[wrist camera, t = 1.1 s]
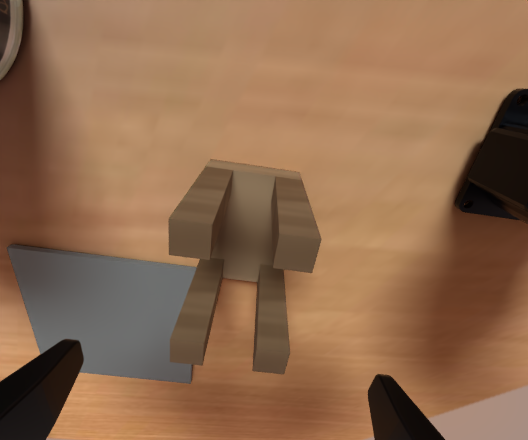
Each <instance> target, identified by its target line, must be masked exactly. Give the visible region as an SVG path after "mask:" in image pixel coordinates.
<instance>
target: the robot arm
mask: <svg viewBox="0 0 528 440" xmlns="http://www.w3.org/2000/svg"><path fill="white" fill-rule="evenodd" d="M520 96H521V97H522V98H521V101H520V102H519V103H518V104H517V99H518V98H519V97H520ZM468 200H469V201H468ZM466 201H468V203H467V204H466V205H464V203H465V202H466ZM455 206H456V207H457V208H458V209H459V210H461V211H463V212H467V213H474V214H481V215H488V216H495V217H502V218H509V219H516V220H522V221H524V222H525V223H527V224H528V89H516V90H513V91H512V92H511V93H510V94H509V95H508V96H507V98H506V100H505V102H504V104H503V106H502V108H501V110H500V112H499V114H498V116H497V118H496V120H495V122H494V124H493V126H492V128H491V130H490V132H489V134H488V136H487V138H486V140H485V142H484V144H483V146H482V148H481V150H480V152H479V154H478V156H477V158H476V160H475V162H474V164H473V166H472V168H471V170H470V172H469V174H468V177H467V179H466V181H465V183H464V185H463V187H462V189H461V191H460V193H459V195H458V197H457V199H456V202H455ZM83 362H84V356H83V352H82V347H81V343H80V341H79V340H74V339H64V340H61V341H60V342H58V343H57V344H55V345H54V346H52V347H51V348H49V349H48V350H46V351H45V352H43V353H42V354H41V355H39V356H38V357H36V358H35V359H33V360H32V361H30V362H29V363H27V364H26V365H24V366H23V367H21V368H20V369H18V370H17V371H15V372H14V373H12V374H11V375H9V376H8V377H6V378H5V379H3V380H2V381H1V382H0V440H46V438H47V437H48V435H49V433H50V431H51V430H52V428H53V426H54V424H55V422H56V420H57V418H58V416H59V414H60V412H61V410H62V408H63V406H64V404H65V402H66V400H67V397H68V395H69V393H70V391H71V389H72V387H73V385H74V383H75V380H76V378H77V376H78V374H79V372H80V370H81V368H82V365H83ZM368 401H369V407H370V413H371V419H372V426H373V432H374V438H375V440H445V439H444V438H443V436H442V435H441V434H440V433H439V432H438V431H437V429H436V428H435V427H434V426H433V425H432V423H430V421H429V420H428V419H427V418H426V416H425V415H424V414H423V413H422V412H421V411H420V409H419V408H418V407H417V406H416V405H415V403H414V402H413V401H412V400H411V399H410V398H409V396H408V395H407V394H406V393H405V392H404V391H403V389H402V388H401V387H400V386H399V385H398V384H397V382H396V381H395V380H394V379H393V378H392V377H391V376H389V375H383V374H377V375H376V376H375V378H374V380H373V382H372V384H371V385H370V387H369V390H368Z"/></svg>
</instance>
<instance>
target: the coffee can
mask: <svg viewBox="0 0 528 440" xmlns="http://www.w3.org/2000/svg"><path fill="white" fill-rule="evenodd" d="M22 31H23V0H0V80H1V79H2V78H3V77H4V76H5V75H6V74H7V72H8V71H9V69H10V67H11V66H12V64H13V62H14V60H15V58H16V56H17V53H18V50H19V47H20V43H21V38H22Z"/></svg>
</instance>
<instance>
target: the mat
mask: <svg viewBox="0 0 528 440" xmlns="http://www.w3.org/2000/svg"><path fill="white" fill-rule="evenodd" d="M7 250H8V253H9V257H10V260H11V263H12V266H13V269H14V272H15V275H16V279H17V282H18V285H19V288H20V291H21V294H22V297H23V300H24V304H25V307H26V310H27V313H28V316H29V319H30V322H31V326H32V329H33V332H34V335H35V338H36V341H37V344H38V347H39V351H40V354H42V353H43V352H45V351H46V350H48V349H49V348H51V347H52V346H54V345H55V344H57V343H58V342H60V341H61V340H64V339H74V340H79V341H80V343H81V347H82V352H83V356H84V362H83V365H82V368H81V370H80V372H81V373H91V374H101V375H111V376H120V377H130V378H140V379H150V380H159V381H169V382H179V383H189V384H191V380H192V364H183V363H174V362H170V338H171V335H172V332H173V330H174V327H175V324H176V322H177V319H178V316H179V314H180V311H181V308H182V306H183V303H184V300H185V298H186V295H187V292H188V290H189V287H190V285H191V282H192V279H193V277H194V274H195V271H196V269H197V267H190V266H182V265H174V264H166V263H158V262H150V261H142V260H134V259H126V258H118V257H110V256H102V255H94V254H86V253H78V252H70V251H62V250H54V249H46V248H38V247H30V246H22V245H14V244H11V245H10V246H8V247H7Z"/></svg>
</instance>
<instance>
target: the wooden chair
mask: <svg viewBox="0 0 528 440" xmlns="http://www.w3.org/2000/svg"><path fill="white" fill-rule="evenodd" d="M320 243H321V236H320V233H319V230H318V227H317V224H316V221H315V218H314V215H313V212H312V209H311V206H310V203H309V200H308V197H307V194H306V191H305V188H304V185H303V182H302V179H301V176H300V173H299V172H296V171H289V170H282V169H275V168H268V167H262V166H255V165H248V164H241V163H234V162H227V161H220V160H214V159H211V160H210V161H209V162H208V164H207V165H206V167H205V168H204V170H203V171H202V172H201V174H200V175H199V177H198V178H197V179H196V181H195V182H194V184H193V185H192V186H191V188H190V189H189V191H188V192H187V194H186V195H185V196H184V198H183V199H182V201H181V202H180V203H179V205H178V206H177V208H176V209H175V210H174V212H173V213H172V215H171V216H170V217H169V255H174V256H182V257H190V258H198V259H200V261H199V263H198V266H197V269H196V271H195V274H194V277H193V279H192V282H191V285H190V287H189V290H188V292H187V295H186V298H185V300H184V303H183V306H182V308H181V311H180V314H179V316H178V319H177V322H176V324H175V327H174V330H173V332H172V335H171V338H170V362H174V363H183V364H192V365H201V366H202V365H203V361H204V356H205V352H206V348H207V343H208V339H209V335H210V330H211V326H212V321H213V317H214V313H215V308H216V304H217V300H218V295H219V291H220V287H221V282H222V278H227V279H235V280H243V281H251V282H257V298H256V317H255V335H254V354H253V371H257V372H267V373H276V374H284V373H285V369H286V366H287V362H288V358H289V355H290V347H289V335H288V322H287V309H286V296H285V284H284V271H283V269H284V270H292V271H300V272H307V273H312V272H313V268H314V264H315V261H316V257H317V253H318V250H319V246H320Z"/></svg>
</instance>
